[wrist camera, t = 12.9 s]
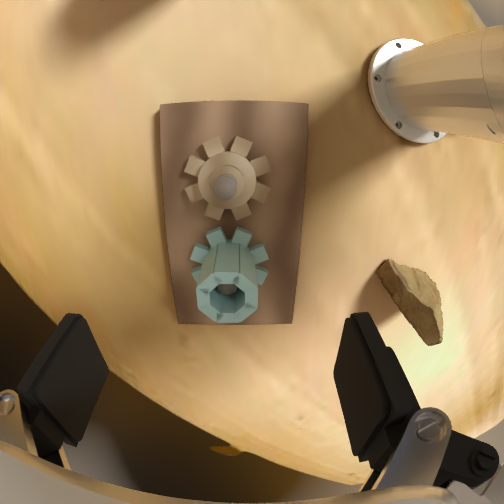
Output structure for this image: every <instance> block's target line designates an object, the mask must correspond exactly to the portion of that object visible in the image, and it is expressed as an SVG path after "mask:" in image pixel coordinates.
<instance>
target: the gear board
mask: <svg viewBox="0 0 504 504" xmlns="http://www.w3.org/2000/svg"><path fill="white" fill-rule="evenodd" d="M307 133H308V104H305V103H292V102H275V101H201V102H185V103H172V104H162V105H160V143H161V169H162V187H163V201H164V214H165V225H166V235H167V245H168V254H169V263H170V271H171V278H172V286H173V293H174V299H175V306H176V312H177V319H178V324H209V325H255V324H292V320H293V311H294V303H295V294H296V285H297V275H298V265H299V254H300V243H301V232H302V219H303V206H304V191H305V175H306V156H307ZM220 226H221V227H222V229H223V231H224V234H225V236H226V238H227V239H232V236H233V234H234V232H235V230H236V227H237V226H238V227H241V228H243V229H246V230H249V231H251V232H252V237H251V239H250V241H249V243H248V245H247V247H248V248H249V247H251V246H254V245H257V244H259V243H262V242H263V244H264V247H265V249H266V252H267V254H268V258H269V259H268V260H266V261H263V262H260V263H258V264H256V265H259V266H261V267H264V268H267V270H268V275H267V276H266V278H265V280H264V282H263V284H262V285H260V284H258V308H257V310H256V311H255V312H253V313H252V314H251V315H249V316H248V317H247V318H246V319H244V320H243V321H242V322H240V321H239V323H217V321H216V322H215V321H213V320H212V319H211V318H209V317H208V316H207V315H205V314H204V313H203V312H201V311H200V310H199V308H198V304H197V294H196V287H197V283H196V281H195V279H194V277H193V276H192V274H191V272H192V269H193V268H196V267H198V266H201V265H202V264H201V263H198V262H196V261H193V260H190V258H191V255H192V252H193V250H194V247H195V244H196V242H197V243H199V244H202V245H205V246H207V247H211V245H210V243H209V241H208V239H207V237H206V232H207V231H210V230H212V229H215V228H217V227H220ZM217 287H218V290H219V292H220V293H222V294H224V295H231V294H233V293H235V292H236V290H237V286H236V285H235V284H219V285H217Z"/></svg>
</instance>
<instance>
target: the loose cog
mask: <svg viewBox="0 0 504 504" xmlns="http://www.w3.org/2000/svg"><path fill="white" fill-rule="evenodd" d="M206 237H207V239H208V241H209V243H210V245H211V247H207V246H205V245H202V244H199V243H197V242H196V244H195V247H194V250H193V252H192V255H191V258H190V260H193V261H196V262H198V263H201V264H202V265H201V266H198V267H196V268H193V269H192V272H191V274H192V276H193V277H194V279H195V281H196V283H197V287H196V294H197V304H198V308H199V310H200V311H201V312H203V313H204V314H205V315H207V316H208V317H209V318H211V319H212V320H213V321H215V322H216V321H217V323H239V321H240V322H242V321H243V320H244V319H246V318H247V317H248V316H249V315H251V314H252V313H253V312H255V311H256V310H257V308H258V284H260V285H262V284H263V282H264V280H265V278H266V276H267V275H268V270H267V268H264V267H261V266H259V265H256V264H258V263H260V262H263V261H266V260H268V259H269V258H268V254H267V252H266V249H265V247H264V244H263V242H262V243H259V244H257V245H254V246H251V247H249V248H248V247H247V245H248V243H249V241H250V239H251V237H252V232H251V231H249V230H246V229H243V228H241V227H238V226H237V227H236V230H235V232H234V234H233V236H232V239H227V238H226V236H225V234H224V231H223V229H222V227H221V226H220V227H217V228H215V229H212V230H210V231H207V232H206ZM219 284H235V285H236V286H237V290H236V292H235V293H233V294H231V295H224V294H222V293H220V292H219V290H218V287H217V285H219Z"/></svg>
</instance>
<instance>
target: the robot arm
mask: <svg viewBox="0 0 504 504" xmlns="http://www.w3.org/2000/svg"><path fill="white" fill-rule="evenodd" d="M374 77H375V78H376V80H375V79H374ZM368 86H369V92H370V96H371V99H372V102H373V104H374V106H375V109H376V111H377V113H378V114H379V116H380V117H381V119H382V120H383V121H384V123H385V124H386V125H387V126H388V127H389V128H390V129H391V130H392V131H393V132H395V133H396V134H397V135H399V136H400V137H402V138H404V139H406V140H409V141H412V142H417V143H432V142H435V141H438V140H439V139H441V138H443V137H444V136H445V135H446V134H447V133H450V134H457V135H463V136H468V137H474V138H479V139H484V140H489V141H494V142H498V143H502V144H504V25H498V26H493V27H488V28H483V29H478V30H473V31H469V32H465V33H461V34H457V35H453V36H449V37H446V38H442V39H439V40H435V41H432V42H429V43H426V44H422V43H420V42H418V41H415V40H411V39H396V40H392V41H389V42H387V43H385V44H384V45H382V46H381V47H379V49H378V50H377V51H376V52H375V53H374V55H373V57H372V59H371V61H370V65H369V69H368ZM107 376H108V366H107V364H106V362H105V360H104V358H103V356H102V354H101V352H100V350H99V348H98V346H97V343H96V341H95V339H94V337H93V335H92V332H91V330H90V328H89V326H88V323H87V321H86V319H84V318H83V316H82V315H80V314H73V313H68V314H66V315H65V316H64V318H63V319H62V320H61V322H60V323H59V324H58V326H57V327H56V328H55V330H54V331H53V333H52V334H51V336H50V337H49V338H48V340H47V341H46V343H45V344H44V346H43V347H42V349H41V350H40V352H39V353H38V355H37V356H36V358H35V359H34V361H33V362H32V364H31V365H30V367H29V369H28V370H27V372H26V373H25V375H24V376H23V378H22V380H21V381H20V383H19V385H18V386H17V389H18V391H19V392H20V394H19V396H18V395H17V393H16V392H14V391H13V390H4V391H2V392H0V504H504V463H503V464H502V465H501V464H499V455H498V453H497V451H496V449H495V448H494V447H493V446H491V445H489V444H487V443H484V442H481V441H479V440H476V439H473V438H471V437H468V436H466V435H463V434H461V433H458V432H456V431H453V430H452V426H451V421H450V419H449V417H448V416H447V415H446V414H445V413H444V412H443V411H441V410H439V409H437V408H432V407H428V408H423V409H421V408H420V406H419V404H418V401H417V399H416V397H415V395H414V393H413V390H412V388H411V386H410V384H409V382H408V380H407V378H406V375H405V373H404V371H403V369H402V367H401V365H400V363H399V361H398V359H397V357H396V355H395V353H394V351H393V350H392V348H391V347H386V345H385V343H384V341H383V339H382V337H381V335H380V333H379V331H378V329H377V327H376V325H375V324H374V322H373V320H372V318H371V316H370V314H369V313H368V312H362V313H352V314H351V315H350V318H346V320H345V323H344V328H343V333H342V337H341V342H340V346H339V350H338V355H337V359H336V363H335V367H334V380H335V384H336V388H337V392H338V396H339V399H340V403H341V407H342V411H343V415H344V419H345V423H346V428H347V432H348V436H349V440H350V444H351V449H352V453H353V455H354V456H358V458H359V462H363V461H368V460H369V463H370V467H371V468H372V470H371V472H370V474H369V475H368V477H367V479H366V480H365V482H364V484H363V485H362V487H361V488H360V490H359V491H358V493H353V494H346V495H340V496H334V497H328V498H321V499H313V500H303V501H292V502H278V503H220V502H206V501H196V500H195V501H194V500H187V499H178V498H172V497H166V496H160V495H155V494H150V493H145V492H140V491H135V490H131V489H127V488H123V487H120V486H116V485H112V484H109V483H105V482H102V481H99V480H96V479H93V478H90V477H87V476H84V475H81V474H78V473H76V472H73V471H71V469H70V466H69V464H68V461H67V458H66V456H65V453H64V450H63V447H62V444H63V441H64V442H65V443H66V444H69V445H72V446H75V447H77V444H78V441H81V440H82V438H83V435H84V433H85V430H86V427H87V425H88V422H89V419H90V417H91V414H92V412H93V409H94V407H95V404H96V401H97V400H98V397H99V394H100V392H101V390H102V387H103V385H104V383H105V381H106V378H107Z"/></svg>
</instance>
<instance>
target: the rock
mask: <svg viewBox="0 0 504 504" xmlns="http://www.w3.org/2000/svg"><path fill="white" fill-rule="evenodd" d="M377 273H378V276H379V278H380V279H381V282H382V284H383V286H384V287H385V289H386V290H387V291H388V293H389V294H390V295H391V298H392V299H393V301H394V302H395V304H396V305H397V306H398V307H399V309H400V311H401V312H402V313H403V315H404V316H405V318H406V319H407V320H408V322H409V323H410V324H411V325H412V326H413V328H414V329H415V330H416V331H417V333H418V335H419V336H420V337H421V338H422V340H423V341H424V343H425V344H427V345H428V346H432V345H436V344H439V343H441V342H442V340H443V338H442V334H443V318H442V311H441V298H440V293H439V291H438V289H437V286H436V283H435V282H433V281H432V280H431V279H430V278H429V276H428V275H427V274H426V272H423V271H421V270H419V269H415V268H409V267H407V266H404V265H397V264H396V263H395V262H394V261H393V260H389V259H387V260H386V261H385V263H384V264H383V265H382V266H381V267H380V268H379V269H378V271H377Z"/></svg>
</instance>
